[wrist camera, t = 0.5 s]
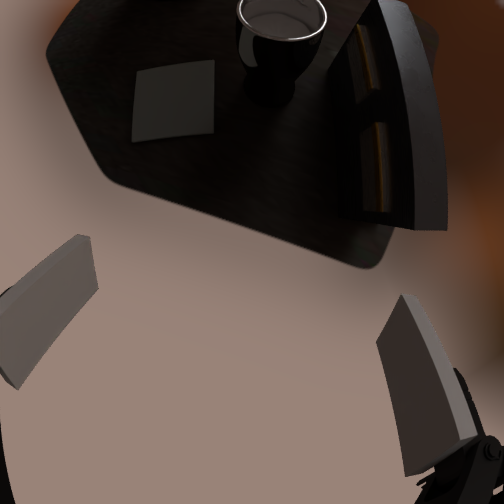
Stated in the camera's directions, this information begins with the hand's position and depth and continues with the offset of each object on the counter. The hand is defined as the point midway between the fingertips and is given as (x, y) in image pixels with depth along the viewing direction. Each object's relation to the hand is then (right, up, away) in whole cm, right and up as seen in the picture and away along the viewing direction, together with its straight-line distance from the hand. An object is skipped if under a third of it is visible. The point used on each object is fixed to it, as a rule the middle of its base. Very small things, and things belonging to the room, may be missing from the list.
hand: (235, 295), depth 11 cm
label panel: (+12, +15, +19) cm, 27 cm away
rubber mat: (-9, +20, +18) cm, 28 cm away
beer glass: (+3, +21, +18) cm, 28 cm away
